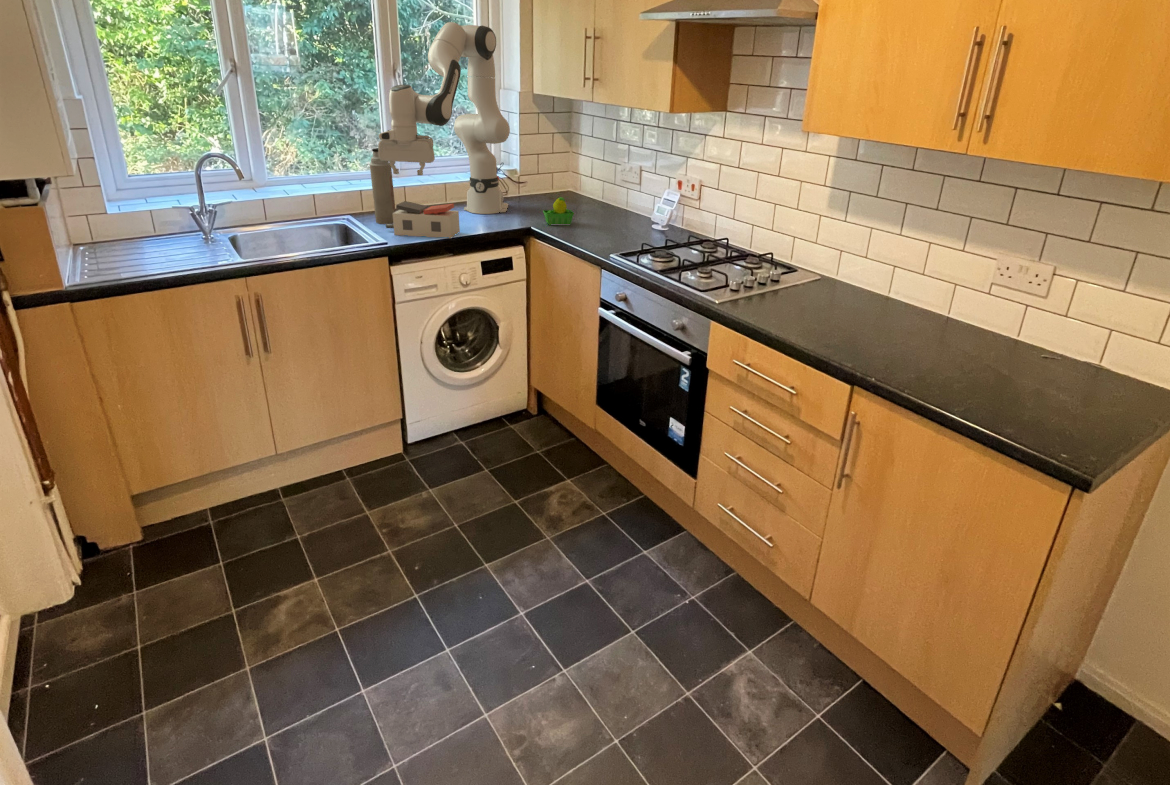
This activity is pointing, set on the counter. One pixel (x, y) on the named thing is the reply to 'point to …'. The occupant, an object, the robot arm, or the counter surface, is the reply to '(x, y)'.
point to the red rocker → (438, 209)
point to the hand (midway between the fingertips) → (408, 174)
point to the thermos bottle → (382, 189)
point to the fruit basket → (558, 213)
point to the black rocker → (411, 207)
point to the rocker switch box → (425, 224)
